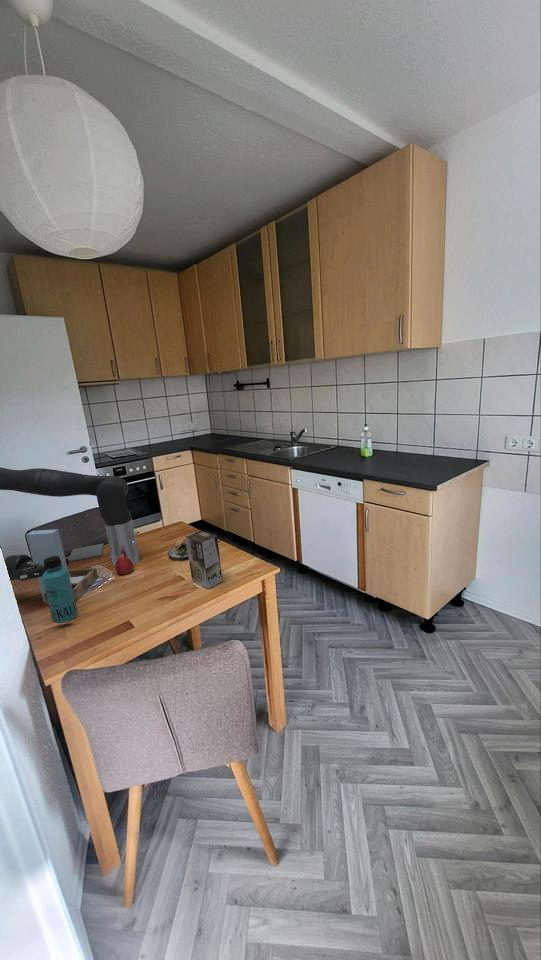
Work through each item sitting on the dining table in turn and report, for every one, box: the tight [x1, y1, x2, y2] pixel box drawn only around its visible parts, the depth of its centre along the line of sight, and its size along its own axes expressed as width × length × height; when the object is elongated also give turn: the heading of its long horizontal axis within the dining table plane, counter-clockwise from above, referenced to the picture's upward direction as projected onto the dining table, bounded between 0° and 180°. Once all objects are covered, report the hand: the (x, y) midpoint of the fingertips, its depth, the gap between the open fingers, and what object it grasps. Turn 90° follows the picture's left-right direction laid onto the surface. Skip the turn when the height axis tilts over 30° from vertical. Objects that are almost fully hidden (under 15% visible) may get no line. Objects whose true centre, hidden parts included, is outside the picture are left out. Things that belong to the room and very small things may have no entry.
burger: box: [167, 538, 188, 562], centre depth 146 cm, size 12×12×8 cm
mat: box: [68, 543, 105, 563], centre depth 155 cm, size 12×12×1 cm
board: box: [25, 528, 73, 604], centre depth 116 cm, size 8×3×24 cm, turn 88°
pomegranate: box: [114, 554, 134, 576], centre depth 133 cm, size 6×6×8 cm
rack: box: [44, 567, 99, 606], centre depth 123 cm, size 16×9×5 cm, turn 178°
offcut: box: [70, 576, 85, 583], centre depth 126 cm, size 5×6×2 cm
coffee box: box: [184, 530, 224, 590], centre depth 123 cm, size 9×6×16 cm
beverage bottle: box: [42, 556, 78, 624], centre depth 107 cm, size 6×7×20 cm
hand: (64, 564), depth 116 cm, fingers closed on board, 3 cm apart
